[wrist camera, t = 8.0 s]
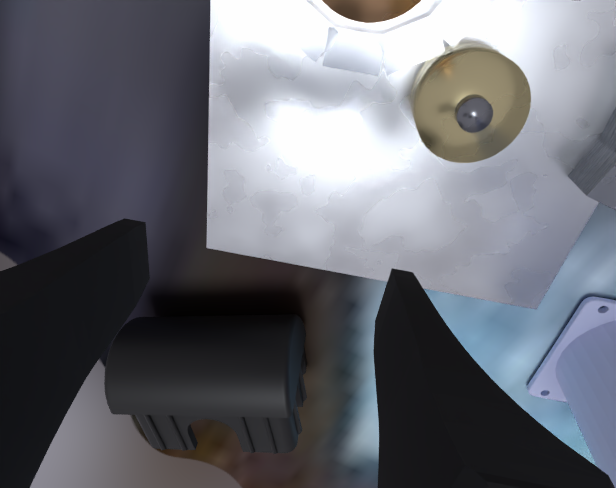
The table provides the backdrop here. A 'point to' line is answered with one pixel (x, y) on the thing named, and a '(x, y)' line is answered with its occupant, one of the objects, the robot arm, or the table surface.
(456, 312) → the table surface
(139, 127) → the table surface
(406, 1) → the gear
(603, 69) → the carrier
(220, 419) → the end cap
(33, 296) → the robot arm
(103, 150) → the table surface
